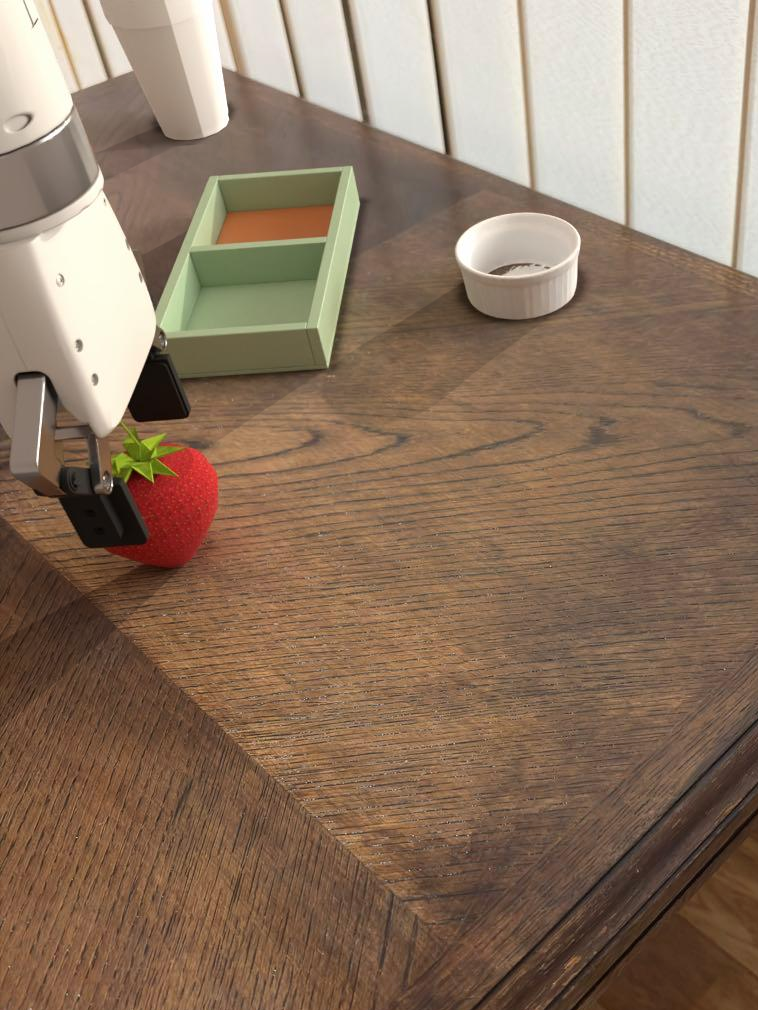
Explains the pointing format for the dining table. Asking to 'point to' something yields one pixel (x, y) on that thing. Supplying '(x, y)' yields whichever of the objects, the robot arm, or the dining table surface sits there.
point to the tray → (261, 273)
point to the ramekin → (520, 287)
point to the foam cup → (174, 62)
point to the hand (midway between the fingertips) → (142, 476)
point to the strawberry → (167, 498)
